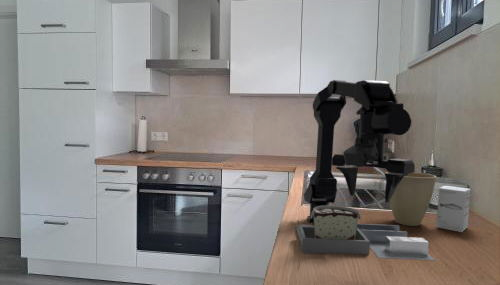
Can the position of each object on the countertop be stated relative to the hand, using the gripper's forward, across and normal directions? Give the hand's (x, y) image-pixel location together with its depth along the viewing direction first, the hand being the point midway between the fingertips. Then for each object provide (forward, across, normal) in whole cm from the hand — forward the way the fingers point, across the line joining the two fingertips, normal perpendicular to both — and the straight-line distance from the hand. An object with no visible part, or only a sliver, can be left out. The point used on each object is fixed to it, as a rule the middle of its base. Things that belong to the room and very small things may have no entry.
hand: (369, 198), depth 84 cm
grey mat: (+14, +4, +7) cm, 16 cm away
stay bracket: (+13, -3, +12) cm, 18 cm away
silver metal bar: (+13, +6, +8) cm, 16 cm away
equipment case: (+13, -12, +1) cm, 18 cm away
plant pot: (+14, -7, +36) cm, 39 cm away
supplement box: (+14, +4, +42) cm, 44 cm away
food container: (+14, -8, -3) cm, 16 cm away
